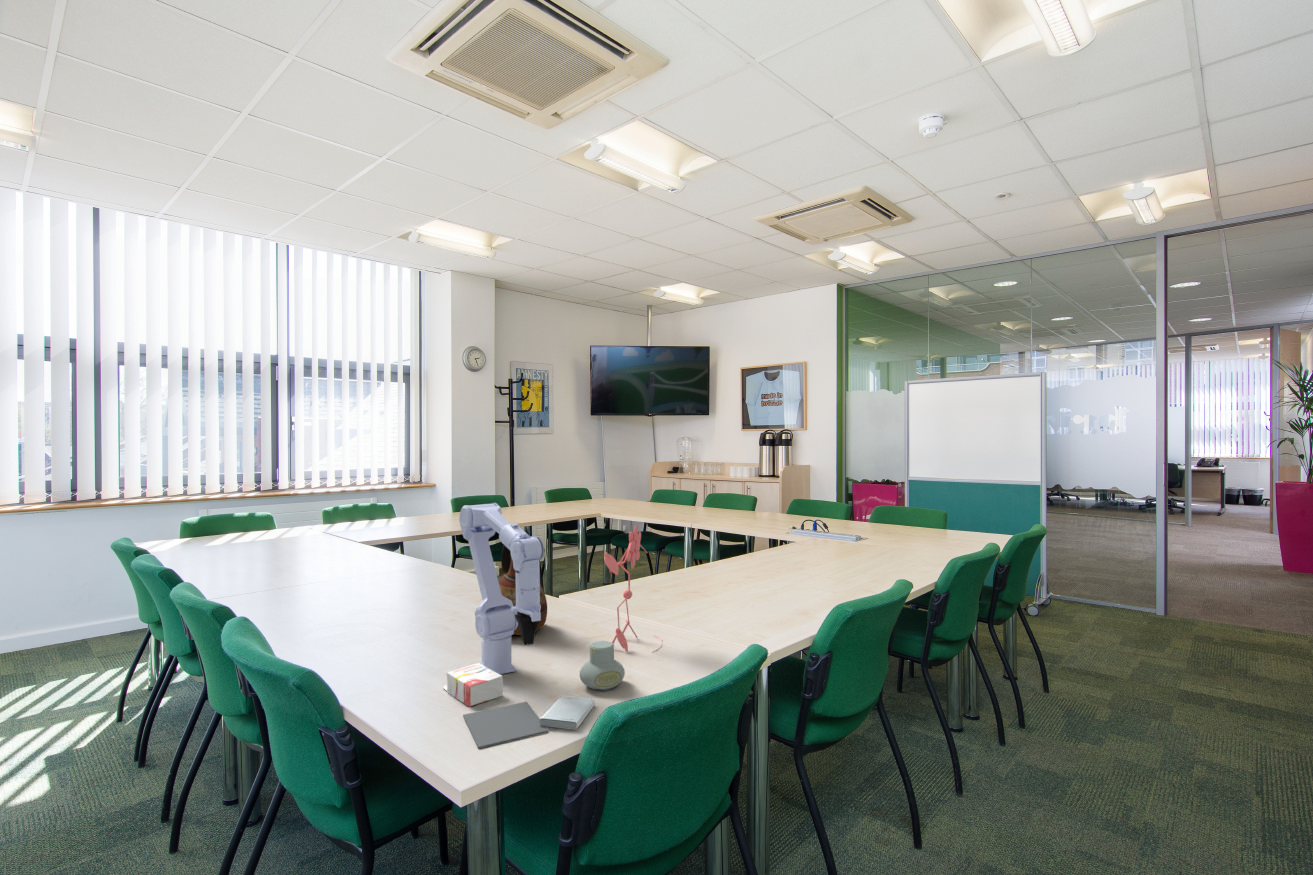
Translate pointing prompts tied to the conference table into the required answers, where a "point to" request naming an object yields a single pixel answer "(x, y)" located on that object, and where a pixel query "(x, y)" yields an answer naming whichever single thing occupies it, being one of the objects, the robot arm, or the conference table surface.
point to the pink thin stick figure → (613, 567)
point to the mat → (503, 724)
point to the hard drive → (567, 712)
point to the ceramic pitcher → (509, 587)
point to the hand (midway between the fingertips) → (528, 643)
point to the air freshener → (602, 667)
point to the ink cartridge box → (474, 684)
